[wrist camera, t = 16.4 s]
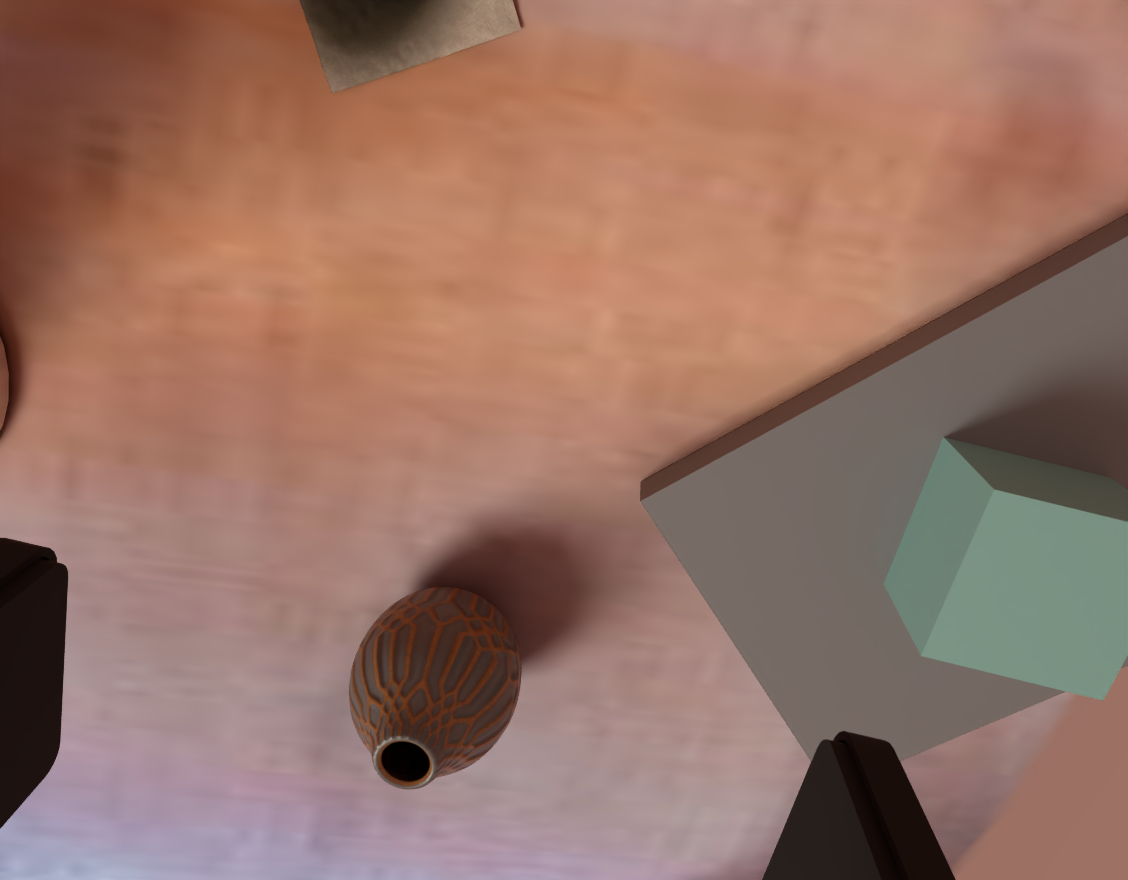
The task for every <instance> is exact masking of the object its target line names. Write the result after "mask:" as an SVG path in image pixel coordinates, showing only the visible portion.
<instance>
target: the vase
mask: <svg viewBox="0 0 1128 880" xmlns="http://www.w3.org/2000/svg"><path fill="white" fill-rule="evenodd" d="M520 684H521V659H520V652H519V648H518V644H517V641H516V638H515V635H514V633H513V631H512V629H511V627H510V625H509V624H508V622H507V621H506V619H505V618H504V616H503V615H502V614H501V613H500V611H499V610H498V609H497V608H496V607H495V606H493V605H492V604H491V603H490V602H488V601H487V600H485V599H484V598H482V597H480V596H478V595H476V594H474V593H472V592H469V591H466V590H463V589H458V588H452V587H434V588H428V589H424V590H421V591H418V592H415V593H412V594H410V595H408V596H406V597H404V598H402V599H401V600H399V601H397V602H396V603H395V604H393V605H392V606H391V607H389V608H388V609H387V610H386V611H385V612H384V613H383V614H382V615H381V616H380V617H379V618H378V619H377V620H376V621H375V623H374V624H373V625H372V626H371V628H370V629H369V631H368V632H367V634H366V636H365V637H364V639H363V641H362V642H361V645H360V647H359V649H358V651H357V653H356V656H355V659H354V662H353V666H352V670H351V677H350V686H349V701H350V710H351V715H352V719H353V723H354V725H355V728H356V730H357V733H358V735H359V737H360V738H361V740H362V741H363V743H364V745H365V746H366V747H367V749H368V750H369V752H370V753H371V754H372V761H373V765H374V768H375V770H376V772H377V773H378V775H379V776H380V777H381V778H382V779H383V780H384V781H386V782H387V783H389V784H390V785H392V786H395V787H397V788H401V789H417V788H421V787H424V786H426V785H427V784H429V783H430V782H431V781H433V780H434V779H435V778H437V777H441V776H445V775H449V774H452V773H455V772H458V771H460V770H462V769H464V768H466V767H468V766H470V765H472V764H473V763H475V762H476V761H478V760H479V759H480V758H481V757H482V756H484V755H485V754H486V753H487V752H488V751H489V750H490V749H491V748H492V747H493V745H494V744H495V743H496V742H497V741H498V739H499V738H500V736H501V735H502V734H503V732H504V731H505V729H506V727H507V726H508V724H509V722H510V720H511V718H512V715H513V713H514V710H515V707H516V704H517V700H518V696H519V691H520Z"/></svg>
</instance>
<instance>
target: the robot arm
mask: <svg viewBox="0 0 1128 880" xmlns="http://www.w3.org/2000/svg"><path fill="white" fill-rule="evenodd" d="M8 401H9V372H8V366H7V361H6V355H5V350H4V345H3V342H2V340H1V337H0V430H1V428H2V426H3V423H4V419H5V414H6V410H7V405H8ZM67 590H68V570H67V568H66V566H65V565H63V564H61V563H57V557H56V555H55V553H54V551H53V550H51V549H50V548H47V547H42V546H38V545H34V544H29V543H25V542H21V541H16V540H12V539H8V538H0V828H1V827H2V826H3V825H4V824H5V823H6V822H7V820H8V819H9V818H10V817H11V816H12V815H13V813H14V812H15V811H16V810H17V809H18V808H19V807H20V805H21V804H22V803H23V802H24V801H25V800H26V798H27V797H28V796H29V795H30V794H31V793H32V792H33V790H34V789H35V788H36V787H37V786H38V785H39V783H40V782H41V781H42V780H43V779H44V778H45V776H46V775H47V774H48V772H49V771H50V769H51V767H52V766H53V764H54V762H55V759H56V757H57V754H58V751H59V747H60V736H61V715H62V694H63V674H64V653H65V632H66V611H67ZM762 880H955V877H954V875H953V873H952V871H951V869H950V867H949V865H948V863H947V860H946V858H945V856H944V854H943V852H942V850H941V848H940V846H939V843H938V841H937V839H936V837H935V835H934V833H933V831H932V829H931V826H930V824H929V822H928V820H927V818H926V816H925V814H924V812H923V809H922V807H921V805H920V803H919V801H918V799H917V797H916V795H915V792H914V790H913V788H912V786H911V784H910V782H909V780H908V778H907V775H906V773H905V771H904V769H903V767H902V765H901V763H900V761H899V758H898V756H897V754H896V752H895V750H894V748H893V747H892V745H891V744H890V743H889V742H887V741H885V740H881V739H877V738H873V737H868V736H864V735H860V734H855V733H851V732H847V731H842V732H839V733H838V734H837V735H836V736H835V738H834V739H833V741H832V740H828V739H825V740H822V741H821V742H820V744H819V745H818V747H817V749H816V752H815V754H814V757H813V759H812V761H811V764H810V766H809V769H808V771H807V773H806V776H805V778H804V781H803V783H802V785H801V788H800V790H799V793H798V795H797V798H796V800H795V802H794V805H793V807H792V810H791V812H790V814H789V817H788V819H787V822H786V824H785V826H784V829H783V831H782V834H781V836H780V838H779V841H778V843H777V846H776V848H775V850H774V853H773V855H772V858H771V860H770V863H769V865H768V867H767V870H766V872H765V875H764V877H763V879H762Z"/></svg>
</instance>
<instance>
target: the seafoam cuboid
mask: <svg viewBox="0 0 1128 880" xmlns="http://www.w3.org/2000/svg"><path fill="white" fill-rule="evenodd" d="M884 586H885V588H886V590H887V592H888V594H889V596H890V598H891V600H892V601H893V603H894V605H895V607H896V609H897V611H898V613H899V615H900V617H901V619H902V621H903V623H904V624H905V626H906V628H907V630H908V632H909V634H910V636H911V638H912V640H913V642H914V644H915V645H916V647H917V649H918V651H919V653H920V655H921V656H923V657H927V658H931V659H935V660H940V661H944V662H948V663H952V664H956V665H960V666H964V667H968V668H972V669H976V670H980V671H984V672H989V673H993V674H997V675H1001V676H1005V677H1009V678H1013V679H1017V680H1021V681H1025V682H1029V683H1033V684H1038V685H1042V686H1046V687H1050V688H1054V689H1058V690H1062V691H1066V692H1070V693H1074V694H1078V695H1082V696H1087V697H1091V698H1095V699H1099V700H1104V698H1105V696H1106V694H1107V693H1108V691H1109V689H1110V687H1111V685H1112V683H1113V681H1114V680H1115V678H1116V676H1117V674H1118V672H1119V670H1120V669H1121V667H1122V665H1123V663H1124V661H1125V659H1126V657H1127V656H1128V490H1127V489H1126V488H1125V487H1123V486H1122V485H1121V484H1119V483H1118V482H1117V481H1115V480H1114V479H1113V478H1110V477H1106V476H1102V475H1098V474H1094V473H1089V472H1085V471H1081V470H1077V469H1073V468H1069V467H1065V466H1061V465H1057V464H1052V463H1048V462H1044V461H1040V460H1036V459H1032V458H1028V457H1024V456H1019V455H1015V454H1011V453H1007V452H1003V451H999V450H995V449H991V448H987V447H982V446H978V445H974V444H970V443H966V442H962V441H958V440H954V439H949V438H945V437H943V439H942V442H941V444H940V447H939V449H938V452H937V454H936V457H935V459H934V461H933V464H932V466H931V469H930V471H929V474H928V476H927V479H926V481H925V484H924V486H923V488H922V491H921V493H920V496H919V498H918V501H917V503H916V506H915V508H914V511H913V513H912V516H911V518H910V520H909V523H908V525H907V528H906V530H905V533H904V535H903V538H902V540H901V543H900V545H899V547H898V550H897V552H896V555H895V557H894V560H893V562H892V565H891V567H890V570H889V572H888V575H887V577H886V579H885V582H884Z"/></svg>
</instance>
